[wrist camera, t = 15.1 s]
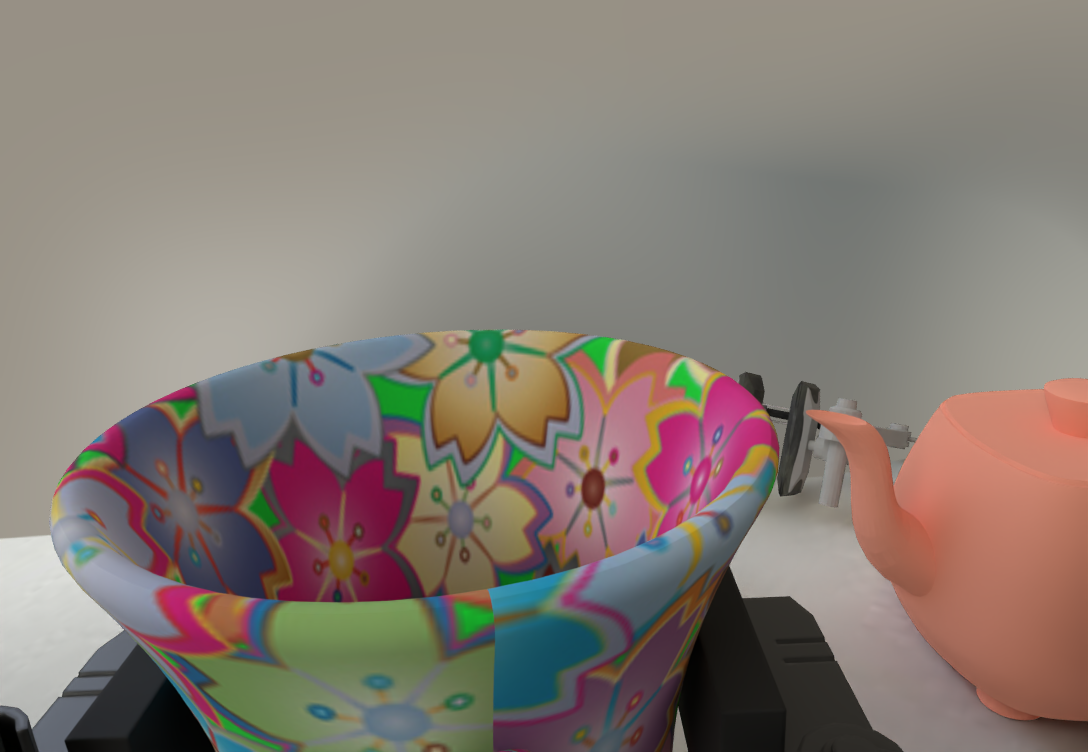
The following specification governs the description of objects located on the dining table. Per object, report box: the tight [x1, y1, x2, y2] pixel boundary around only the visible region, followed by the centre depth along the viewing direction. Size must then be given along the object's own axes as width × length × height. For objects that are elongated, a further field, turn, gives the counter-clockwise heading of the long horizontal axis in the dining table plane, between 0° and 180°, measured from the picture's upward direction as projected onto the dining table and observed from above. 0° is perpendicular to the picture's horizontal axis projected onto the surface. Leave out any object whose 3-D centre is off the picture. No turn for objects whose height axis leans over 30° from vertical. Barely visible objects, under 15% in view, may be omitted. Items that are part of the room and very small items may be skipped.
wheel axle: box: [737, 372, 917, 507], centre depth 53 cm, size 14×7×20 cm
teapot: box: [806, 378, 1088, 721], centre depth 33 cm, size 13×20×12 cm, turn 90°
